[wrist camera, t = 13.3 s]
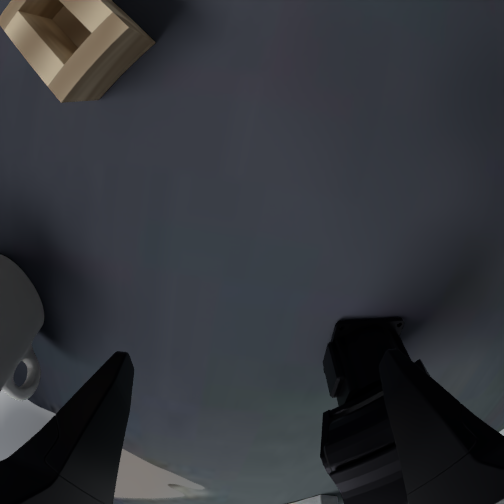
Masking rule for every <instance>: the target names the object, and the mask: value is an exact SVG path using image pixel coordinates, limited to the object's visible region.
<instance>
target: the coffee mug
mask: <svg viewBox="0 0 504 504" xmlns="http://www.w3.org/2000/svg"><path fill="white" fill-rule="evenodd" d="M43 323H44V310H43V305H42V302H41V299H40V297H39V295H38V293H37V291H36V289H35V287H34V285H33V284H32V282H31V281H30V279H29V278H28V277H27V275H26V274H25V273H24V272H23V271H22V269H21V268H20V267H19V266H18V265H16V264H15V263H14V262H13V261H12V260H10V259H9V258H7V257H5V256H3V255H1V254H0V391H1V389H2V390H3V391H4V392H5V393H6V394H7V395H9V396H10V397H12V398H13V399H16V400H26V399H28V398H29V397H31V395H32V394H33V393H34V392H35V390H36V388H37V386H38V384H39V381H40V376H41V370H40V365H39V362H38V360H37V357H36V355H35V353H34V351H33V348H32V341H33V339H34V337H35V336H36V334H37V333H38V332H39V330H40V329H41V327H42V326H43ZM21 361H23V362H24V363H25V364H26V365H27V369H28V374H27V379H26V381H25V383H24V384H23V385H22V386H20V387H19V386H17V385H16V384H15V383H14V379H13V376H14V372H15V369H16V367H17V365H18V364H19V363H20V362H21Z"/></svg>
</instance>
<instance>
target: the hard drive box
mask: <svg viewBox="0 0 504 504" xmlns="http://www.w3.org/2000/svg"><path fill="white" fill-rule="evenodd" d="M289 504H338V498H337V496H330V495H322V494H321V495H318V496H314V497H311V498H307V499H304V500H300V501H297V502H293V503H289Z"/></svg>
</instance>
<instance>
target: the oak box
mask: <svg viewBox="0 0 504 504" xmlns="http://www.w3.org/2000/svg"><path fill="white" fill-rule="evenodd" d="M0 26H1V27H2V29H3V30H4V31H5V33H6V34H7V35H8V37H9V38H10V39H11V40H12V42H13V43H14V44H15V46H16V47H17V48H18V50H19V51H20V52H21V53H22V55H23V56H24V57H25V59H26V60H27V61H28V62H29V64H30V65H31V66H32V67H33V69H34V70H35V71H36V72H37V74H38V75H39V76H40V77H41V79H42V80H43V81H44V82H45V84H46V85H47V86H48V87H49V88H50V90H51V91H52V92H53V93H54V95H55V96H56V97H57V98H58V99H59V101H60V102H61V103H63V102H75V101H89V100H99V99H100V98H101V97H102V96H103V95H104V94H105V92H106V91H107V90H108V89H109V88H110V87H111V86H112V85H113V84H114V83H115V82H116V81H117V80H118V79H119V78H120V76H121V75H122V74H123V73H124V72H125V71H126V70H127V69H128V68H129V67H130V66H131V65H132V64H133V63H134V62H136V61H137V60H138V59H139V58H140V57H141V56H142V55H143V54H144V53H145V52H146V51H147V50H148V49H149V48H151V47H152V46H153V45H154V44H155V43H156V42H155V41H154V40H153V39H152V38H151V37H150V36H149V35H148V34H147V33H146V32H145V31H144V30H143V29H142V28H140V27H139V26H138V25H137V24H136V23H135V22H134V21H133V20H132V19H131V18H130V17H129V16H128V15H127V14H126V13H125V12H124V11H123V10H122V9H121V8H119V7H118V6H117V5H116V4H115V3H114V2H113V1H112V0H12V1H11V2H10V3H9V5H8V6H7V7H6V9H5V10H4V11H3V13H2V14H1V16H0Z"/></svg>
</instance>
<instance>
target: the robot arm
mask: <svg viewBox="0 0 504 504" xmlns="http://www.w3.org/2000/svg"><path fill="white" fill-rule="evenodd" d="M398 323H399V324H398ZM341 326H343V327H341ZM403 326H404V321H403V319H402V318H387V319H370V320H347V321H339V322H337V323H336V325H335V328H334V332H333V336H332V339H331V342H329V343H328V345H327V349H326V352H325V356H324V360H323V366H324V373H325V375H326V379H327V384H328V388H329V393H330V396H331V397H332V398H336V397H337V401H338V405H339V407H337V408H335V409H332V410H328V411H326V412H324V413H323V422H322V437H321V452H320V458H321V460H322V462H323V465H324V467H325V469H326V471H327V473H328V474H329V475H330V477H331V478H332V480H333V481H334V482H335V484H336V485H337V487H338V489H339V491H340V493H341V495H342V498H343V501H344V503H345V504H504V436H503V435H502V434H500V433H499V432H497V431H496V430H494V429H493V428H492V427H490V426H489V425H487V424H486V423H485V422H483V421H482V420H481V419H479V418H478V417H477V416H475V415H474V414H473V413H472V412H471V411H469V410H468V409H467V408H466V407H465V406H464V405H462V404H460V402H459V401H458V400H457V399H456V398H454V397H453V396H452V395H451V394H450V393H449V392H447V391H446V390H445V389H444V388H443V387H442V386H441V385H439V384H438V383H437V382H436V381H435V380H434V379H432V378H431V377H430V375H429V373H428V372H427V370H426V368H425V367H424V365H423V363H422V361H421V360H420V359H419V360H418V361H416V362H415V363H414V362H413V361H411V359H410V357H409V355H408V353H407V351H406V349H405V347H404V345H403V343H402V341H401V339H400V337H399V336H400V333H401V331H402V328H403ZM133 378H134V367H133V364H132V361H131V359H130V356H129V354H128V353H127V352H120V351H117V352H115V353H114V354H113V355H112V356H111V357H110V358H109V359H108V360H107V361H106V362H105V364H104V365H103V366H102V367H101V368H100V369H99V370H98V371H97V372H96V373H95V374H94V375H93V376H92V377H91V378H90V379H89V380H88V381H87V382H86V383H85V384H84V385H83V386H82V387H81V388H80V389H79V390H78V391H77V392H76V393H75V394H74V396H73V397H72V398H71V399H70V400H69V401H68V402H67V403H66V404H65V405H64V406H63V407H62V408H61V409H60V410H59V411H58V412H57V413H56V416H54V417H53V418H52V419H51V420H50V421H49V422H48V423H47V424H46V425H45V426H44V427H43V428H42V429H41V430H40V431H39V432H38V433H37V434H35V435H34V436H33V437H32V438H31V439H30V440H29V441H27V442H26V443H25V444H24V445H23V446H22V447H20V448H19V449H18V450H17V451H16V452H14V453H13V454H12V455H11V456H9V457H8V458H7V459H5V460H2V461H0V504H113V499H114V492H115V486H116V479H117V473H118V468H119V462H120V457H121V451H122V446H123V441H124V436H125V431H126V427H127V422H128V417H129V412H130V405H131V395H132V386H133Z"/></svg>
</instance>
